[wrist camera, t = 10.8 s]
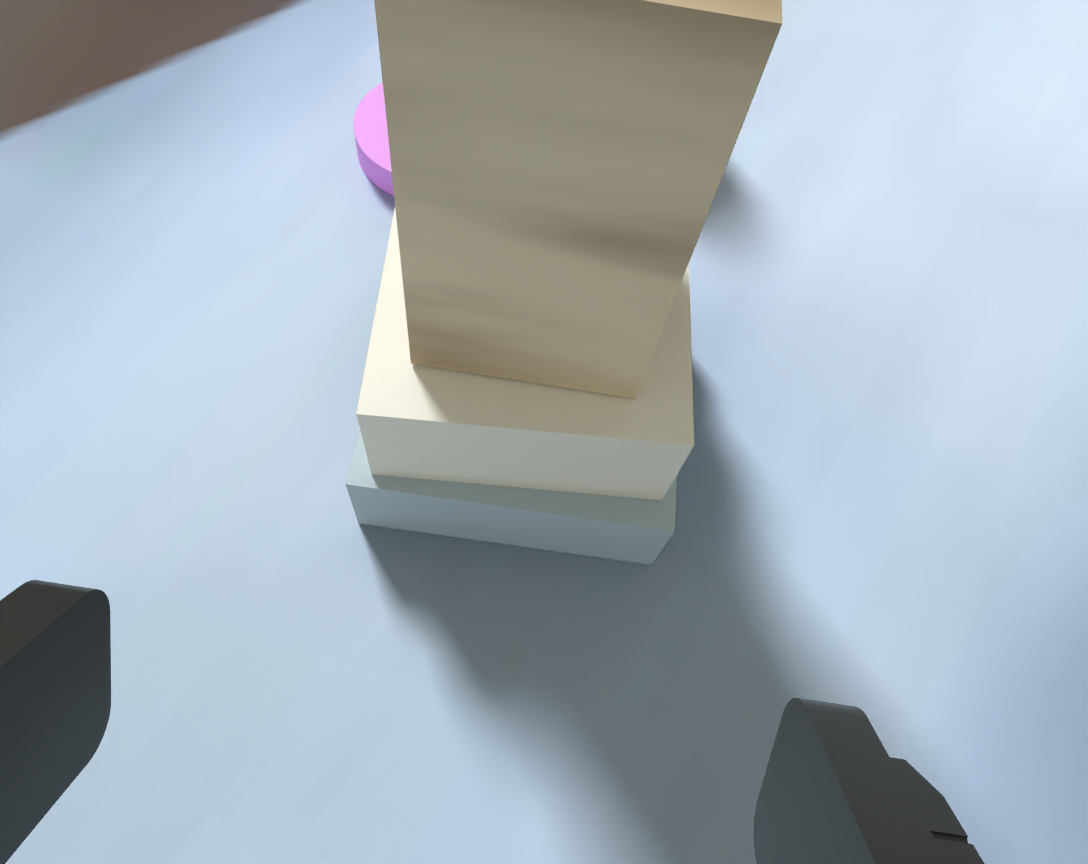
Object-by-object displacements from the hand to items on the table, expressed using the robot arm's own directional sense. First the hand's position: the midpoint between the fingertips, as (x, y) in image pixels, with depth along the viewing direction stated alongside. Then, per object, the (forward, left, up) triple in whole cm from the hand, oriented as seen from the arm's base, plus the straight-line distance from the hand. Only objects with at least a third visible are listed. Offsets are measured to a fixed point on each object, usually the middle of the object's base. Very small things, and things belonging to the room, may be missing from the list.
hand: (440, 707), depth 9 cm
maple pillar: (-11, 0, -7) cm, 13 cm away
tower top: (-11, 0, -10) cm, 15 cm away
